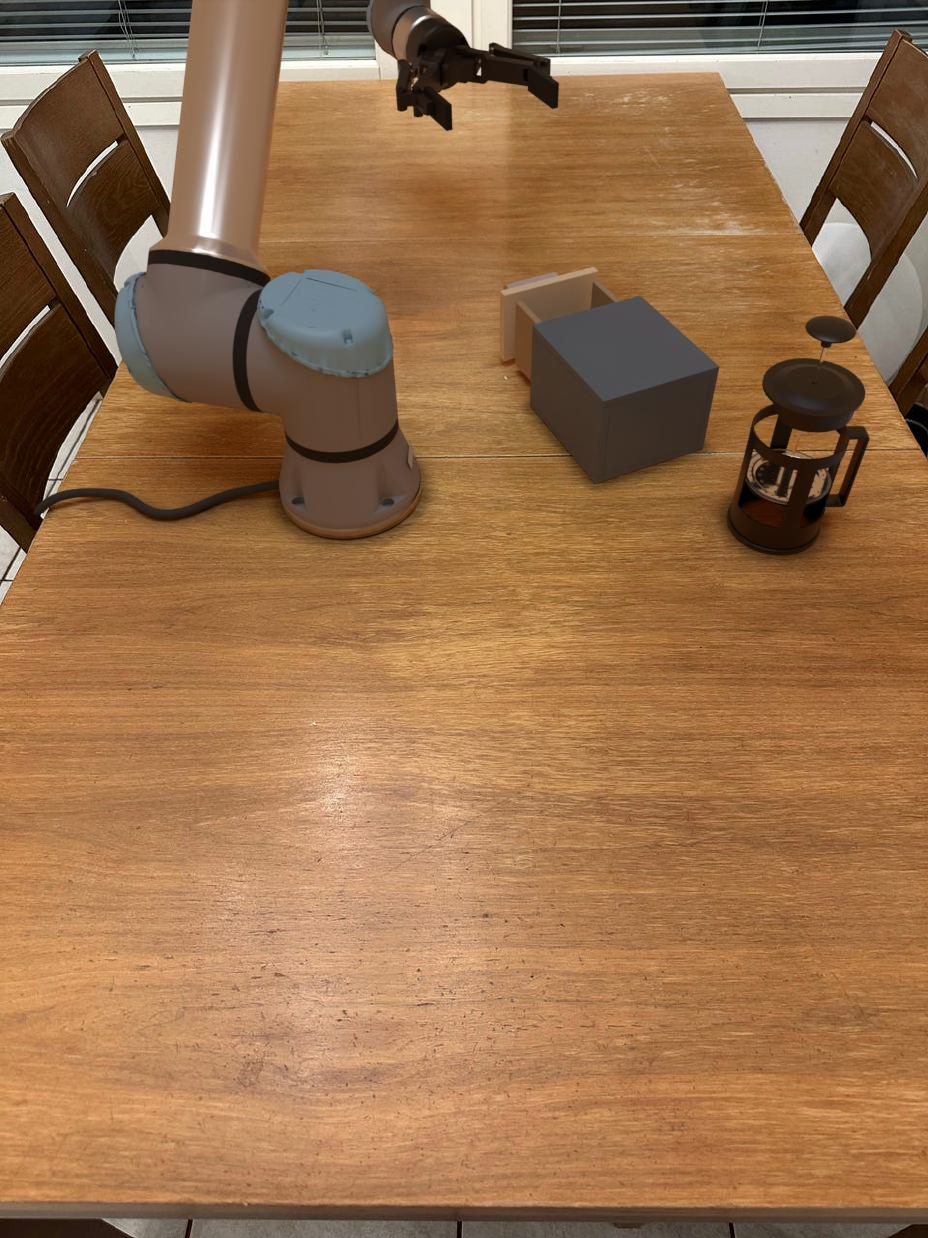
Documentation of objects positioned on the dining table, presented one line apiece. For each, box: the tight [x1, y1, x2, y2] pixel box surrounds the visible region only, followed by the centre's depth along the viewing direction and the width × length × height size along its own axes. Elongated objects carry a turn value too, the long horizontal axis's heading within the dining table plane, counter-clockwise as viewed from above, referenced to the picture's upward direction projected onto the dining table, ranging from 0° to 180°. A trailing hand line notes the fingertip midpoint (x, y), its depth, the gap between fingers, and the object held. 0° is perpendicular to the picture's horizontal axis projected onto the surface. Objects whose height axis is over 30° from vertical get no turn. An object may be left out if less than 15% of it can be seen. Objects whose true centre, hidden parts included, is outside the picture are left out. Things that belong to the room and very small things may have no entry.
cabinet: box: [529, 295, 720, 485], centre depth 105 cm, size 16×14×11 cm
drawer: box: [499, 266, 621, 382], centre depth 113 cm, size 19×13×9 cm, turn 25°
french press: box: [726, 315, 870, 556], centre depth 89 cm, size 12×9×23 cm
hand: (503, 106), depth 109 cm, fingers open, 13 cm apart
